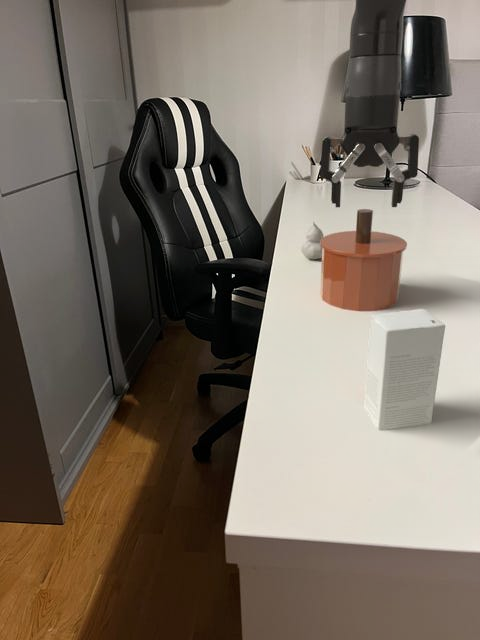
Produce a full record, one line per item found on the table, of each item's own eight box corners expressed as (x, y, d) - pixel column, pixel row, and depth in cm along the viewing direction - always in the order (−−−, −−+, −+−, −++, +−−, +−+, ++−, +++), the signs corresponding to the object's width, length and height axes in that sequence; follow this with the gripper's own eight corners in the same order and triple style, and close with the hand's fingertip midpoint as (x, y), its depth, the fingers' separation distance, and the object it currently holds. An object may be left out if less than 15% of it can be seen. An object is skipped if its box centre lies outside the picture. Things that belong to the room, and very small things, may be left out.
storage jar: (348, 280, 93) (352, 230, 89) (411, 297, 84) (418, 243, 80) (305, 300, 85) (307, 246, 81) (370, 321, 77) (375, 262, 73)
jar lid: (351, 232, 90) (353, 198, 87) (422, 246, 81) (427, 208, 78) (302, 249, 81) (303, 212, 79) (376, 267, 72) (379, 225, 70)
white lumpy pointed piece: (300, 254, 108) (301, 218, 105) (331, 254, 107) (333, 217, 104) (301, 262, 103) (301, 224, 100) (333, 262, 103) (335, 224, 99)
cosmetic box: (412, 404, 56) (425, 307, 51) (431, 427, 52) (448, 324, 47) (360, 411, 55) (369, 313, 50) (376, 435, 52) (387, 331, 47)
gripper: (421, 90, 73) (410, 201, 80) (323, 94, 76) (320, 201, 83) (428, 90, 67) (415, 212, 73) (320, 95, 69) (317, 211, 76)
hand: (365, 206), depth 78 cm, fingers open, 8 cm apart
